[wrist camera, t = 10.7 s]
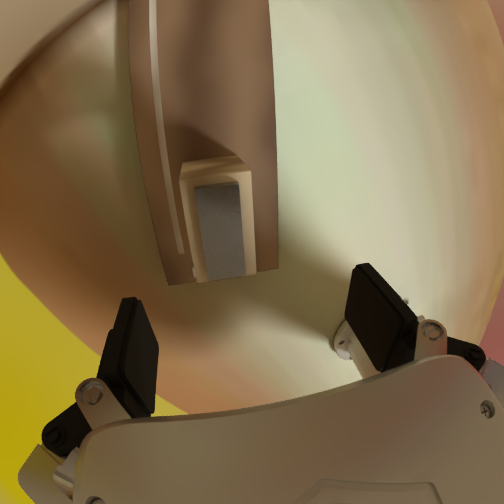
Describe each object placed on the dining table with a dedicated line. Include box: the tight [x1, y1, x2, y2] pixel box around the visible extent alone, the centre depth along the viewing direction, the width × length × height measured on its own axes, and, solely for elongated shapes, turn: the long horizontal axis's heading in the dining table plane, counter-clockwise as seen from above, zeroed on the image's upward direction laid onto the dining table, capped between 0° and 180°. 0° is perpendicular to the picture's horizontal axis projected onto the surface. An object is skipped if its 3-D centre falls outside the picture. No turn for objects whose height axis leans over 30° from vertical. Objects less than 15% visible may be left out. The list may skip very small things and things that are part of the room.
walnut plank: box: [128, 0, 278, 285], centre depth 17 cm, size 10×30×3 cm, turn 3°
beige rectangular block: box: [179, 155, 257, 283], centre depth 18 cm, size 4×7×6 cm, turn 3°
